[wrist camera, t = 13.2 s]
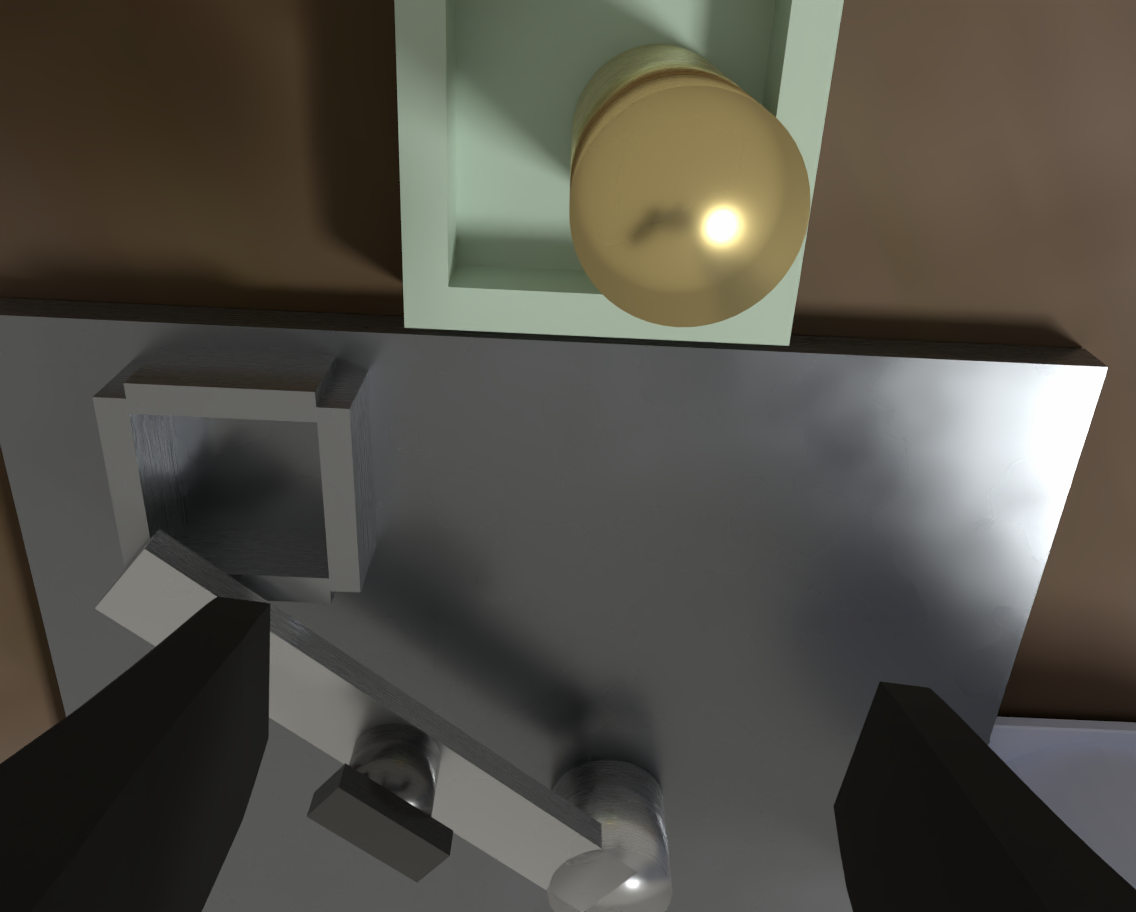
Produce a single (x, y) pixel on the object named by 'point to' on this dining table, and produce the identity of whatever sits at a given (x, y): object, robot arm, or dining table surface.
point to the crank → (423, 761)
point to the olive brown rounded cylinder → (682, 189)
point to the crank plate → (556, 554)
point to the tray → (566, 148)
